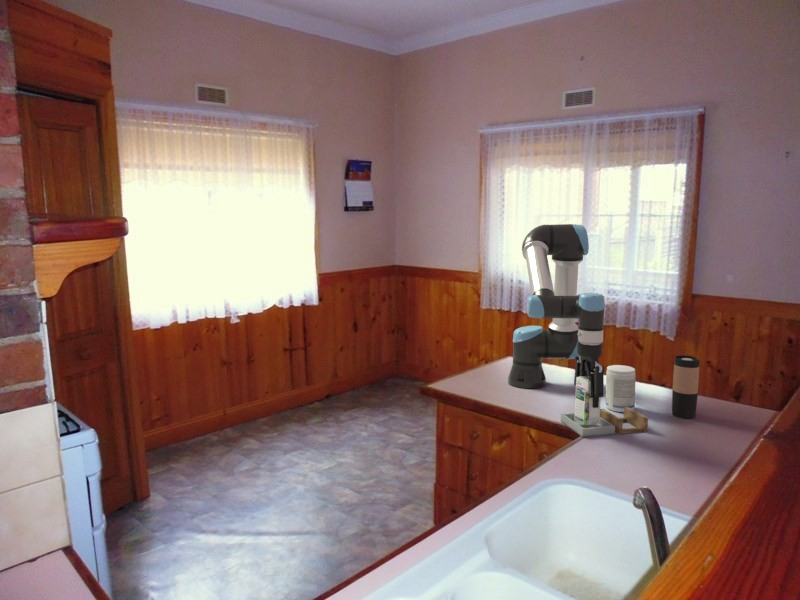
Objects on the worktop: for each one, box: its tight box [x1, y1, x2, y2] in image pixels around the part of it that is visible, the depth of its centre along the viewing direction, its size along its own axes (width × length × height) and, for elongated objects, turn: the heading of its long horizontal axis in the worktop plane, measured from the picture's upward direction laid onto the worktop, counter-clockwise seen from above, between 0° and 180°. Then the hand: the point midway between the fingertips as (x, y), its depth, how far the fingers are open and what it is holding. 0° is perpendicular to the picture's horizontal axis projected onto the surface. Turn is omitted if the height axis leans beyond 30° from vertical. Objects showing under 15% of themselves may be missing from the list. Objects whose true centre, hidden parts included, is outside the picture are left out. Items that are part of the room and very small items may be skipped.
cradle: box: [600, 407, 649, 435], centre depth 178 cm, size 11×10×4 cm
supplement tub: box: [605, 364, 636, 413], centre depth 195 cm, size 10×10×15 cm
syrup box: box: [574, 376, 602, 426], centre depth 177 cm, size 6×6×14 cm
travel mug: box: [671, 354, 701, 420], centre depth 187 cm, size 8×8×20 cm
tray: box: [560, 412, 616, 438], centre depth 178 cm, size 14×11×2 cm
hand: (587, 412), depth 178 cm, fingers closed on syrup box, 6 cm apart
